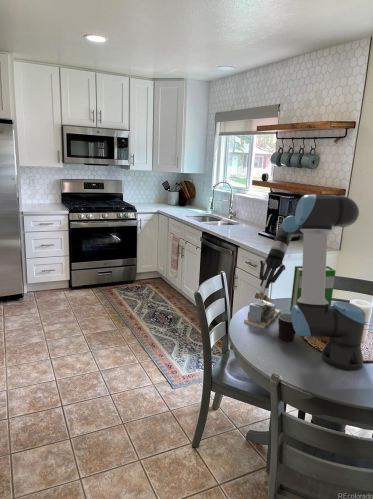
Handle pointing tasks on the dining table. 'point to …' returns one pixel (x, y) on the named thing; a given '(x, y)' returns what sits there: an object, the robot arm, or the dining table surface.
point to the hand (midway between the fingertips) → (261, 293)
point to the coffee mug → (286, 328)
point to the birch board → (262, 322)
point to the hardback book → (298, 285)
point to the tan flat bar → (263, 298)
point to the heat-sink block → (261, 312)
